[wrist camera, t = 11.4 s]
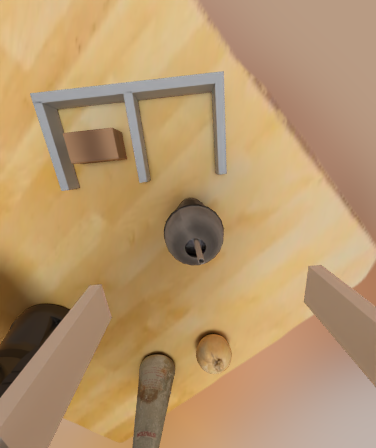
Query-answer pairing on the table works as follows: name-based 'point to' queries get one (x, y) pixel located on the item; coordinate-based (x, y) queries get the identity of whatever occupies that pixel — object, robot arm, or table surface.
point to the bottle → (152, 400)
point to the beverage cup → (193, 233)
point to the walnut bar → (95, 146)
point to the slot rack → (130, 95)
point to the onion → (213, 354)
